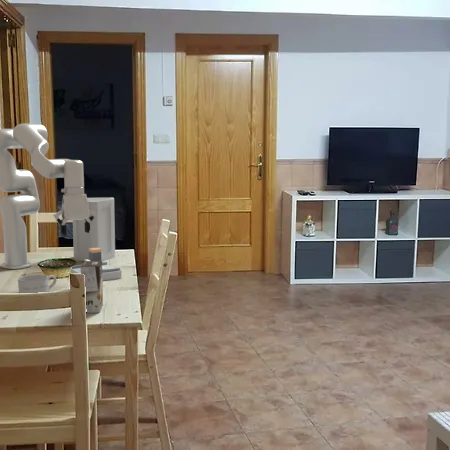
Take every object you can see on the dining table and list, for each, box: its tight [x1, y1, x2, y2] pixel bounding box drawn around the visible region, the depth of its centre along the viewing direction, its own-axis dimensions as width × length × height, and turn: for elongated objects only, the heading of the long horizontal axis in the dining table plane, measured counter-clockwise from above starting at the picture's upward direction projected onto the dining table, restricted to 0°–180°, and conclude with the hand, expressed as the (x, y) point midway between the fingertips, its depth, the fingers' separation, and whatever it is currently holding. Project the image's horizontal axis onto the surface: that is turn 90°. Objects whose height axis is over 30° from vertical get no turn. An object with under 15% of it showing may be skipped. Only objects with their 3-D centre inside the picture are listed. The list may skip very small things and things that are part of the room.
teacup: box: [17, 274, 57, 294], centre depth 229 cm, size 14×11×8 cm
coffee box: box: [80, 261, 104, 314], centre depth 215 cm, size 9×6×16 cm
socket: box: [71, 261, 122, 281], centre depth 261 cm, size 16×16×4 cm
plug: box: [89, 248, 102, 261], centre depth 273 cm, size 4×4×9 cm
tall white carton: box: [72, 197, 116, 262], centre depth 292 cm, size 19×15×28 cm
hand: (75, 233), depth 254 cm, fingers open, 9 cm apart
